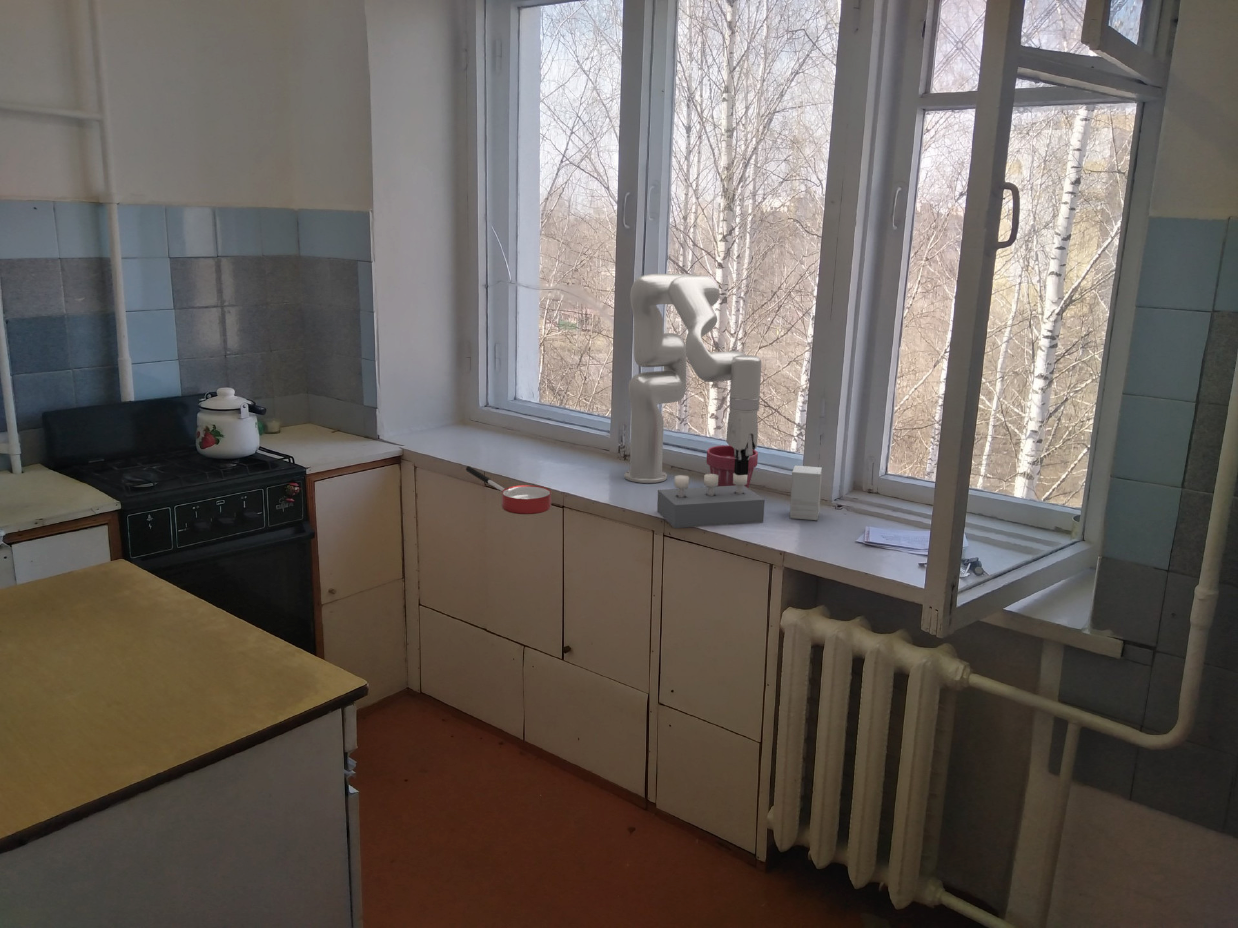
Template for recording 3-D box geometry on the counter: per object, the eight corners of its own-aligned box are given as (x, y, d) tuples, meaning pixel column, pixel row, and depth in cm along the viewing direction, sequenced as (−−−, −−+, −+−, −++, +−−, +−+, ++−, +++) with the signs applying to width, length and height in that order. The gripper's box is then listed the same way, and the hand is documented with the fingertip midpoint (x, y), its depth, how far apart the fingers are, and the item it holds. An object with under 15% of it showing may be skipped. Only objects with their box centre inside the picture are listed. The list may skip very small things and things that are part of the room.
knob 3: (729, 498, 250) (731, 472, 248) (742, 498, 251) (744, 471, 249) (735, 502, 246) (736, 476, 245) (748, 501, 247) (749, 475, 246)
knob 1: (672, 502, 246) (672, 475, 244) (685, 501, 247) (686, 474, 245) (676, 506, 242) (677, 479, 240) (689, 505, 243) (691, 478, 241)
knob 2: (701, 500, 248) (702, 474, 246) (714, 499, 249) (715, 473, 247) (706, 504, 244) (707, 477, 243) (719, 503, 245) (720, 477, 244)
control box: (657, 511, 251) (657, 489, 249) (742, 506, 257) (743, 485, 256) (674, 528, 238) (675, 505, 236) (763, 522, 244) (764, 499, 243)
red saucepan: (443, 494, 263) (443, 471, 261) (478, 485, 273) (478, 463, 271) (526, 518, 243) (526, 494, 242) (561, 507, 253) (561, 484, 252)
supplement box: (819, 513, 253) (823, 467, 250) (817, 521, 246) (821, 473, 243) (791, 510, 255) (794, 464, 252) (788, 518, 248) (791, 471, 245)
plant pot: (746, 505, 259) (749, 459, 255) (697, 498, 264) (699, 453, 261) (761, 492, 271) (764, 448, 268) (714, 485, 277) (716, 442, 274)
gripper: (719, 399, 248) (716, 468, 253) (742, 410, 234) (738, 482, 239) (746, 398, 250) (743, 466, 255) (770, 409, 236) (766, 480, 241)
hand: (741, 474), depth 247 cm, fingers closed
